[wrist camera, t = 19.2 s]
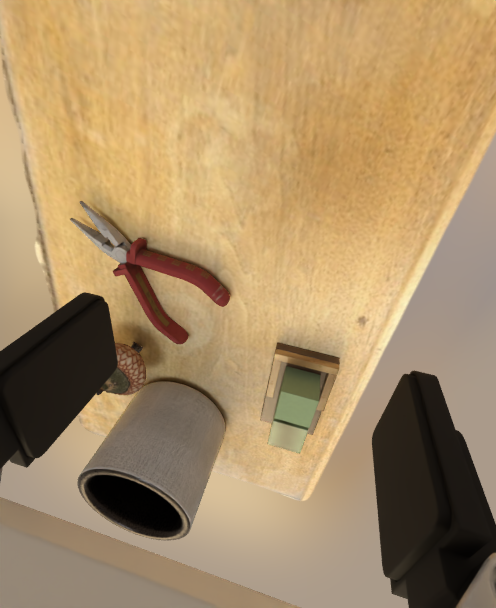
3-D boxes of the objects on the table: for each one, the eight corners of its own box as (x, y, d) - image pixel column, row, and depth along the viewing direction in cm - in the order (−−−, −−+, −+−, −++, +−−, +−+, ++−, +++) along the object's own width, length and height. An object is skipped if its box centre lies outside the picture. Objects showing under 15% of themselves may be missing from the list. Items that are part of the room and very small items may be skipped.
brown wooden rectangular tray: (339, 357, 40) (339, 390, 35) (313, 428, 48) (310, 463, 43) (277, 342, 41) (269, 372, 36) (261, 414, 49) (253, 446, 44)
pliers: (102, 170, 35) (86, 174, 33) (236, 293, 39) (230, 304, 37) (65, 239, 41) (50, 246, 39) (185, 339, 45) (177, 351, 43)
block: (279, 392, 44) (274, 418, 40) (286, 365, 41) (281, 391, 38) (311, 400, 43) (309, 428, 40) (320, 374, 41) (319, 401, 37)
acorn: (102, 332, 48) (53, 378, 40) (138, 313, 44) (92, 359, 36) (137, 371, 51) (98, 422, 42) (174, 356, 47) (139, 408, 39)
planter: (155, 439, 60) (104, 530, 47) (124, 374, 52) (54, 462, 39) (236, 448, 55) (204, 552, 42) (215, 378, 47) (169, 479, 34)
